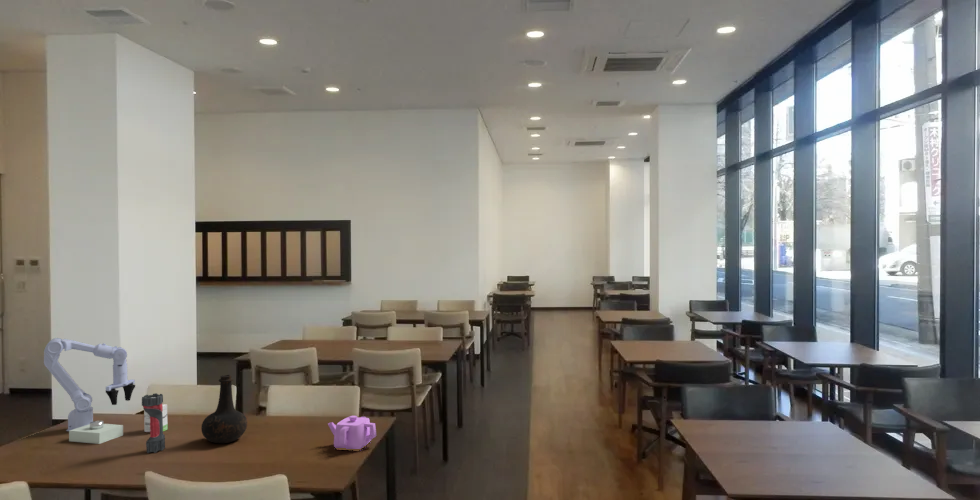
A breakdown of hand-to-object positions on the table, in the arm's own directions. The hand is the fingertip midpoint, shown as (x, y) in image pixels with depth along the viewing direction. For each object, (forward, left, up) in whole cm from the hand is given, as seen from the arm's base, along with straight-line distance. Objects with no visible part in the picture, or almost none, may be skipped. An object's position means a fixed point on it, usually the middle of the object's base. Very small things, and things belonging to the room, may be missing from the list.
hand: (121, 402), depth 281 cm
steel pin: (+7, -19, -10) cm, 23 cm away
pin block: (+7, -19, -10) cm, 23 cm away
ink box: (+24, -4, -11) cm, 26 cm away
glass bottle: (+64, -9, -11) cm, 65 cm away
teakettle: (+120, -3, -11) cm, 121 cm away
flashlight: (+45, -28, -11) cm, 54 cm away
